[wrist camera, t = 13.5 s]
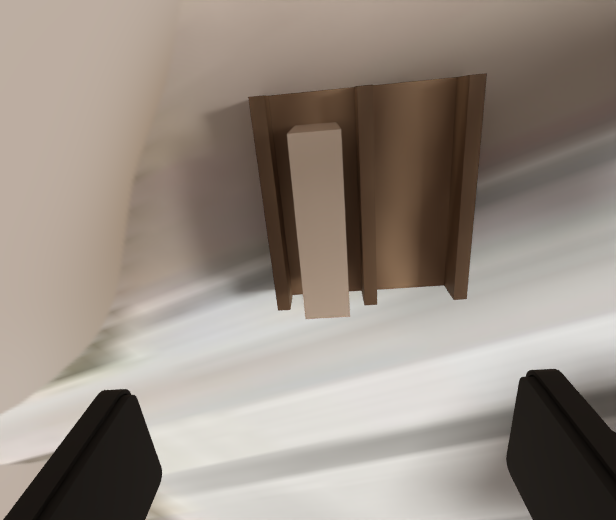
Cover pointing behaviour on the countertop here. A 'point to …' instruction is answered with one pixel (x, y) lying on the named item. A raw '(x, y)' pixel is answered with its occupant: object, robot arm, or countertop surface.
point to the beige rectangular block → (320, 217)
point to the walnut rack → (382, 181)
